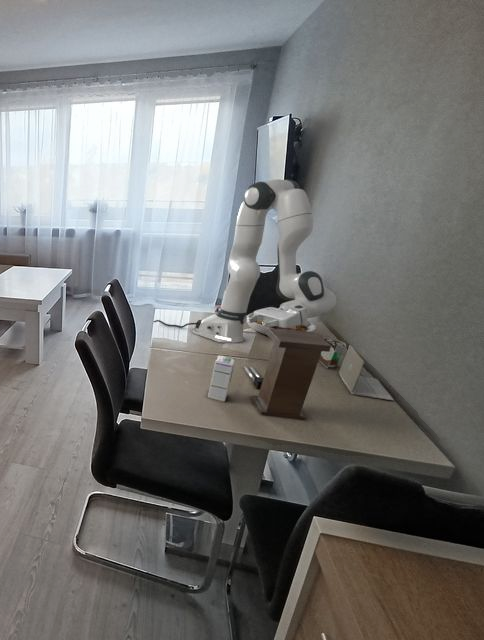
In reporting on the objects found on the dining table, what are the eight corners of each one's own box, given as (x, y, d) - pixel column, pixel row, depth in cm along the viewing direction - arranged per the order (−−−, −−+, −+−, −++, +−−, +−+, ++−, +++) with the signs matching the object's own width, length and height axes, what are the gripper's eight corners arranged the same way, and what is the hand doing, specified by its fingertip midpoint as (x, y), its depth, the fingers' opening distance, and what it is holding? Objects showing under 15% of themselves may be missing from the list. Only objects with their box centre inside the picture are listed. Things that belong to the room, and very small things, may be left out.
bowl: (244, 317, 229) (248, 303, 226) (308, 326, 217) (312, 312, 214) (245, 334, 204) (249, 319, 201) (317, 346, 193) (322, 330, 189)
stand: (248, 396, 148) (267, 328, 137) (290, 400, 145) (313, 331, 135) (259, 414, 136) (281, 341, 126) (306, 420, 134) (332, 346, 123)
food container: (345, 371, 168) (354, 349, 164) (329, 370, 169) (337, 347, 165) (331, 359, 179) (338, 337, 175) (315, 357, 180) (322, 336, 176)
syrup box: (224, 402, 143) (234, 364, 137) (206, 397, 146) (215, 360, 140) (227, 395, 148) (236, 358, 142) (209, 390, 150) (217, 354, 145)
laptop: (393, 401, 146) (408, 368, 141) (350, 394, 150) (363, 362, 145) (376, 380, 161) (389, 349, 156) (338, 374, 166) (349, 344, 160)
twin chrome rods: (242, 367, 169) (244, 361, 168) (253, 369, 168) (255, 362, 167) (256, 388, 153) (258, 381, 152) (269, 390, 152) (271, 382, 151)
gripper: (272, 301, 170) (240, 311, 171) (308, 308, 150) (270, 320, 151) (275, 315, 172) (242, 325, 172) (310, 324, 152) (273, 336, 153)
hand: (256, 323), depth 162 cm, fingers open, 8 cm apart
